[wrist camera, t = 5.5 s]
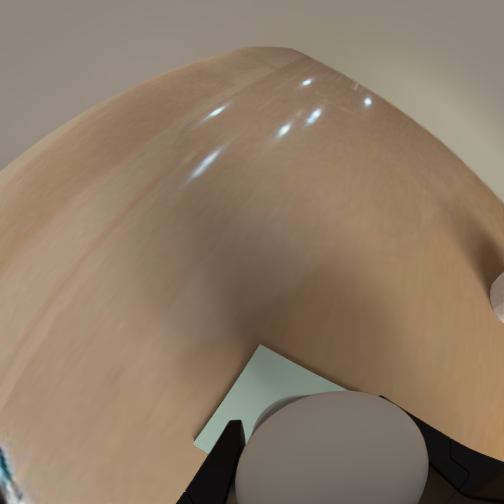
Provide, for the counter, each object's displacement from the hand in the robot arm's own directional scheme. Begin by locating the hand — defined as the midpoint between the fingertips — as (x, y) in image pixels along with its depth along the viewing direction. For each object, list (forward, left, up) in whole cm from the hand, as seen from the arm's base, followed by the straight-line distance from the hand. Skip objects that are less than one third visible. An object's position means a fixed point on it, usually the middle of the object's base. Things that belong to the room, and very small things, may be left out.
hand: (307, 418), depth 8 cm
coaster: (-1, +2, -13) cm, 13 cm away
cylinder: (-1, +1, -7) cm, 7 cm away
